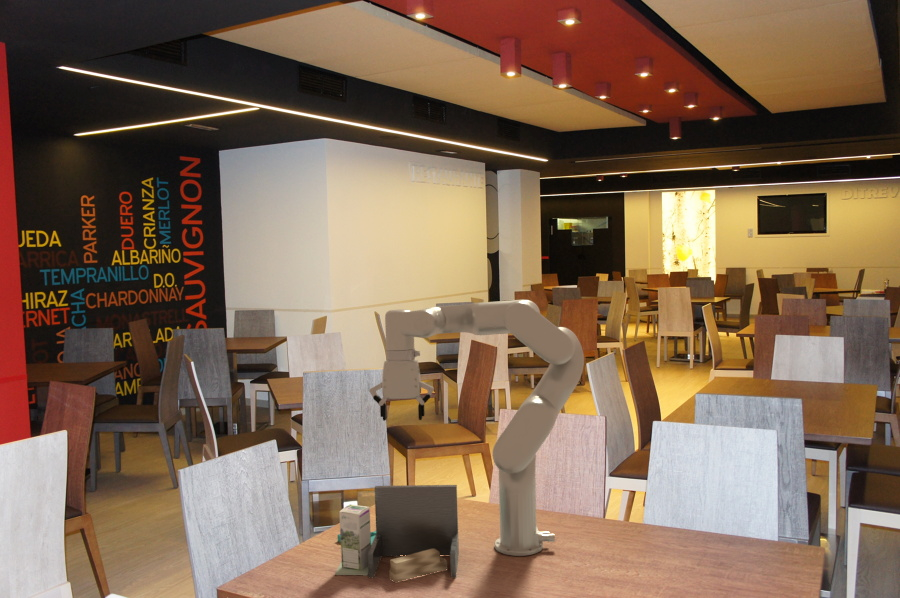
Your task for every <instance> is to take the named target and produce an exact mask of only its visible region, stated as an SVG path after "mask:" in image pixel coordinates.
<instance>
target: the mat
mask: <svg viewBox="0 0 900 598" xmlns="http://www.w3.org/2000/svg"><path fill="white" fill-rule="evenodd" d="M335 575H363V576H369V574H368V566H367V567H365V568H364V569H363V570H354V569H348V568H342V560H341V561H340V563H339V565H338V567H337V569H336V571H335V573H334V576H335Z"/></svg>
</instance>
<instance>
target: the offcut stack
mask: <svg viewBox="0 0 900 598" xmlns="http://www.w3.org/2000/svg"><path fill="white" fill-rule="evenodd" d="M389 561H390V569H389V580H390V579H391V580H390V581H392V580H393V581H394V582H398V581H402V580H406V579H410V578H414V577H417V576H422V575H426V574H430V573H434V572H437V571H442V570H445V571H447V570H448V560H446V559H445V558H444V557H443V556H440V552H439V551H437V550H436V549H434V548H433V549H429V550H425V551H421V552H418V553H414V554H410V555H406V556H398V557H396V558H395V557H394V558H392V559H390V560H389ZM446 569H447V570H446ZM442 572H443V571H442ZM434 574H435V573H434ZM430 575H431V574H430ZM426 576H427V575H426ZM422 577H423V576H422ZM414 579H415V578H414ZM393 581H392V582H393ZM394 582H393V583H394Z"/></svg>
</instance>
